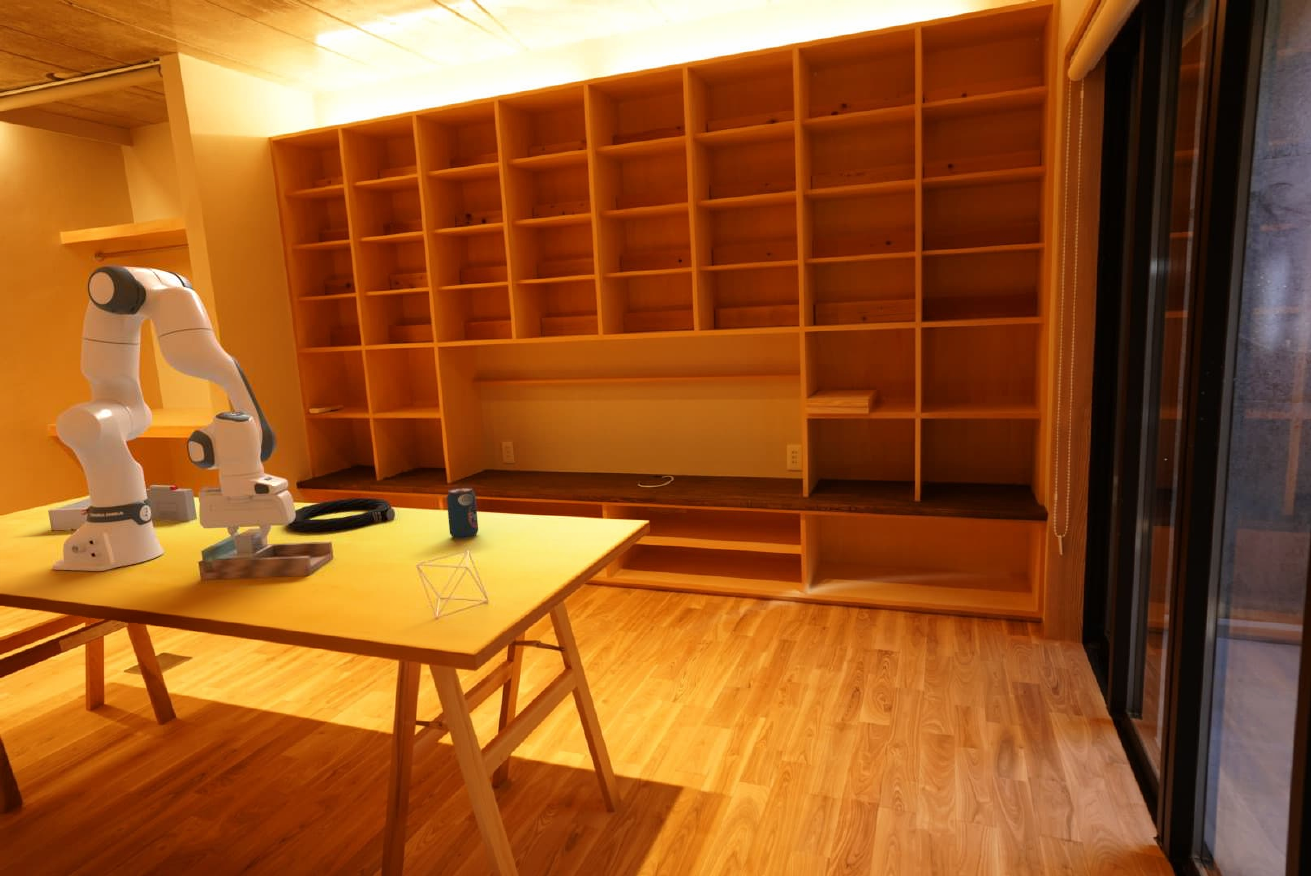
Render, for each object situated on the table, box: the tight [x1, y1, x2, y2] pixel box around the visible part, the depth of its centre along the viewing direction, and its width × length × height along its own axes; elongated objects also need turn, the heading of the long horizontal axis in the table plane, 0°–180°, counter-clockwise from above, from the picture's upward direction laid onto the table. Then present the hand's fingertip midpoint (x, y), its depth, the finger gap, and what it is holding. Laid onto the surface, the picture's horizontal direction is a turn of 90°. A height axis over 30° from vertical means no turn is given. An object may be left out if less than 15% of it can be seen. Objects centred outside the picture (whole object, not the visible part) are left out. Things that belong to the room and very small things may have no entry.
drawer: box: [197, 535, 334, 581], centre depth 171 cm, size 24×12×6 cm, turn 89°
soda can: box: [446, 486, 479, 541], centre depth 189 cm, size 7×7×12 cm
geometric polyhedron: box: [415, 550, 489, 619], centre depth 143 cm, size 12×11×9 cm
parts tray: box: [47, 497, 91, 531], centre depth 227 cm, size 13×23×6 cm, turn 179°
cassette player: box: [146, 484, 198, 522], centre depth 223 cm, size 16×3×10 cm, turn 71°
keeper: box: [216, 528, 274, 560], centre depth 171 cm, size 8×9×7 cm
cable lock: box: [286, 497, 396, 533], centre depth 213 cm, size 28×4×30 cm
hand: (251, 545), depth 171 cm, fingers open, 4 cm apart
